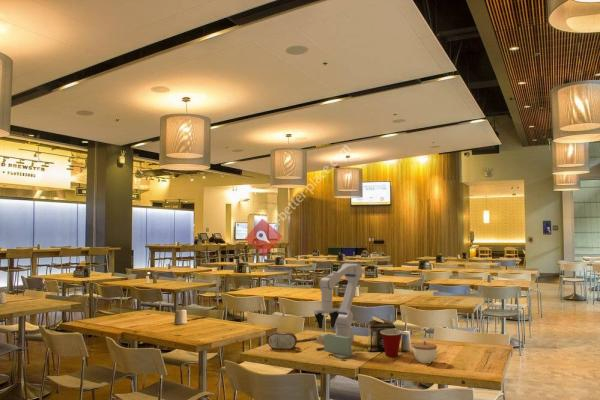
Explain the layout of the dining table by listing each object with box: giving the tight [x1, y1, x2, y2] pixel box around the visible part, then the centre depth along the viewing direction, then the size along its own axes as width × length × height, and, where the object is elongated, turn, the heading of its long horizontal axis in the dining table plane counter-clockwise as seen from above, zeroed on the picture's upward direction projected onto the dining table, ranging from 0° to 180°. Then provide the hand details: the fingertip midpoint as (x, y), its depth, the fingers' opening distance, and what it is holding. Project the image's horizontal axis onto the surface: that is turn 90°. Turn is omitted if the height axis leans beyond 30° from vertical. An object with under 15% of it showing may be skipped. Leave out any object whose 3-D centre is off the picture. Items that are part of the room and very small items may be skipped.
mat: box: [328, 353, 357, 360], centre depth 250 cm, size 9×17×1 cm, turn 33°
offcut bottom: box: [315, 337, 324, 345], centre depth 271 cm, size 5×12×2 cm, turn 33°
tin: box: [267, 331, 298, 350], centre depth 262 cm, size 15×3×8 cm, turn 84°
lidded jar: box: [412, 340, 438, 364], centre depth 236 cm, size 11×11×9 cm
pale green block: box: [323, 333, 353, 355], centre depth 251 cm, size 3×14×8 cm, turn 51°
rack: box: [297, 337, 324, 351], centre depth 268 cm, size 18×23×2 cm
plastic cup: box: [379, 328, 403, 358], centre depth 248 cm, size 11×11×12 cm
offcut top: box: [318, 333, 326, 340], centre depth 271 cm, size 4×10×2 cm, turn 39°
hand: (326, 327), depth 265 cm, fingers open, 7 cm apart
